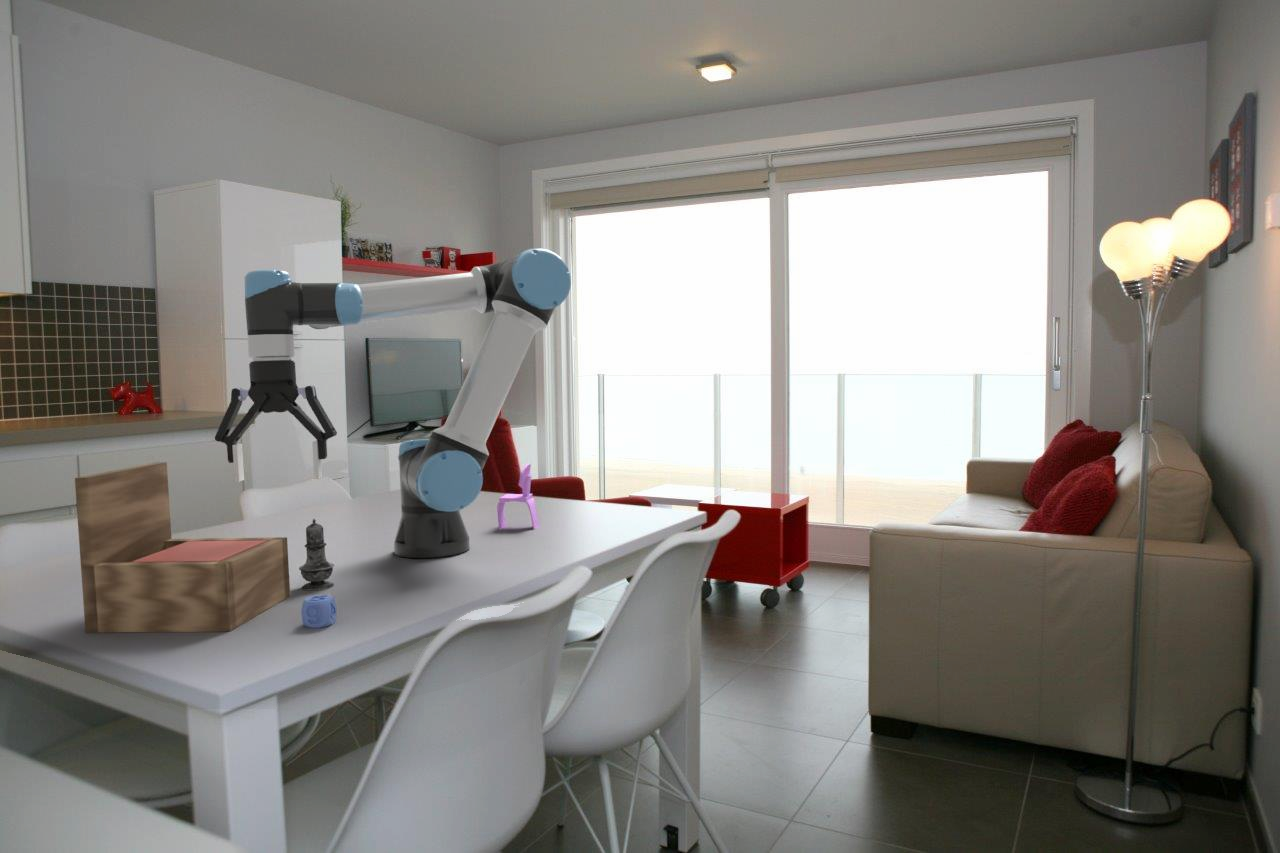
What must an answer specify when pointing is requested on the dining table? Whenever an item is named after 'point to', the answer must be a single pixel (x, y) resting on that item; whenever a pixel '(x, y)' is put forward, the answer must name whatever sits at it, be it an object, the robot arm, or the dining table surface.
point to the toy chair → (519, 499)
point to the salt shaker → (316, 560)
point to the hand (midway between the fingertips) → (279, 479)
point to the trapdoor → (201, 551)
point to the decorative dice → (319, 611)
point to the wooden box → (163, 563)
